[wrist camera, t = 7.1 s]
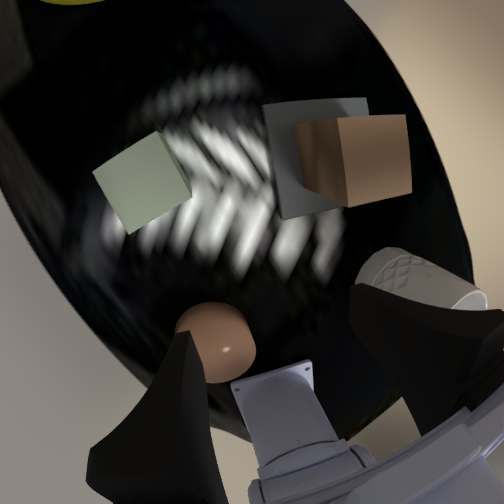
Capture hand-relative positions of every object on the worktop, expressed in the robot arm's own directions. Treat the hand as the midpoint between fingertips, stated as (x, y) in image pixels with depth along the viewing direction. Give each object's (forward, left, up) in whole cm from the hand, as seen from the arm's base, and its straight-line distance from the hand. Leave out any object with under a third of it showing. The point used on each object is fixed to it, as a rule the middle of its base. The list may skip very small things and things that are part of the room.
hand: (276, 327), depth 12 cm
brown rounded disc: (-6, +4, -10) cm, 12 cm away
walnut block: (+6, -7, -9) cm, 13 cm away
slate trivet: (+6, -7, -9) cm, 13 cm away
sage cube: (+7, +5, -9) cm, 12 cm away
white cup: (-6, -12, -10) cm, 17 cm away
